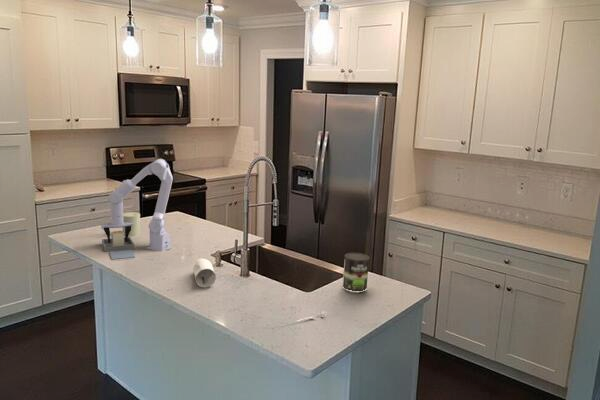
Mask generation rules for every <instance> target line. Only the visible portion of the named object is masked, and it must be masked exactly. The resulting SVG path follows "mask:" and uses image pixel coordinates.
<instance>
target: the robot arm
mask: <svg viewBox="0 0 600 400" xmlns="http://www.w3.org/2000/svg"><path fill="white" fill-rule="evenodd" d="M148 175H149V176H151V175H155V176H157V178H159V180H160V182H161V183H160V188H159V191H158V197H157V201H156V204H155V209H154V213H153V215H152V219H151V221H150V222H149V224H148V229H149V246H148V247H146V249H149V250H153V251H156V252H164V251H167V250H170V249H172V247H171V235H170V233H168V232H167V231H166V229H165V228H164V226H165V225H166V211H167V210H166V209H167V205H168V201H169V197H170V193H171V189H172V185H173V180H174V177H173V174H172V172H171V169H170V165H169V163H168V162H167V161H166V160H165V159H163V158H158V159H157V158H156V160H155V161H153V162H151V163H149V164H148V165H146V166H144V167H143V168H142V169H141V170H140V171H139V172H138V173H136V175H134V177H132V179H125V180H124V179H123V181H122V182H121V184H120V185H119V186H118V187H115V188H114V190H113V191H111V192H110V193H109V194H108V200H109V202H110V208H109V209H110V223H104V224H103V223H102V224H100V229H101V230H103V231H104V233H105V235H106V239H108V243H110V239H111V231H110V230H111V229H118V228H123V227H125V236H124V237H125V242H127V239H128V235H129V233H130V231H131V227H133V222H124V221H123V214H124V199H125V198H126V197H128V195H130V194H131V193H132V192H133V191H134V190H135V189H136V186H137V184H138V183H139V182H141V181H142V180H143V179H144V178H145V177H146V176H148Z"/></svg>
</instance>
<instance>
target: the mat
mask: <svg viewBox="0 0 600 400" xmlns="http://www.w3.org/2000/svg"><path fill="white" fill-rule="evenodd" d="M108 253H109V256H110V259H111V261H117V262H118V261H119V260H129V259H135V258H136V256H135V254H134V252H133V250H123V251H113V252H108Z"/></svg>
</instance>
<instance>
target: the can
mask: <svg viewBox="0 0 600 400" xmlns="http://www.w3.org/2000/svg"><path fill="white" fill-rule="evenodd" d="M123 221H124V222H133V227H131V231H130V233H129V235H128V237H138V236H140V235H141V213H139V212H132V211H131V212H123ZM122 231H123V233H124V237H125V227H122Z"/></svg>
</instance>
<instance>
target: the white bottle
mask: <svg viewBox="0 0 600 400" xmlns="http://www.w3.org/2000/svg"><path fill="white" fill-rule="evenodd" d="M193 273H194V278H195V283H196V284H197V285H198V286H199V287H201V288H208V287H210V286H212V285H214V284H215V282H216V279H217V278H216V273H215V270H214V268H213V264H212V263H211V261H210V260H208V259H205V258H202V257H199V258H198V259H197V260H196V261H195V262H194V265H193Z"/></svg>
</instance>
